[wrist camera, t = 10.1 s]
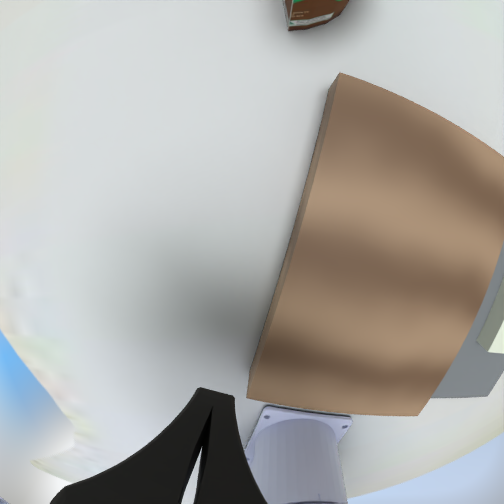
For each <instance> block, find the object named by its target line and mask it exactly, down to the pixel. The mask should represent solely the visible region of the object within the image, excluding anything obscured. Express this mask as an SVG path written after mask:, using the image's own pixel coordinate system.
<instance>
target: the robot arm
mask: <svg viewBox="0 0 504 504" xmlns="http://www.w3.org/2000/svg"><path fill="white" fill-rule="evenodd" d="M266 415H269V416H266ZM352 422H353V421H352V418H351V417H343V416H333V415H323V414H315V413H307V412H300V411H294V410H287V409H281V408H276V407H269V406H268V407H265V408H264V409H263V411H262V413H261V415H260V418H259V420H258V422H257V425H256V427H255V429H254V431H253V434H252V436H251V438H250V440H249V442H248V445H247V447H246V449H245V451H244V450H243V446H242V443H241V439H240V435H239V431H238V426H237V420H236V414H235V398H234V397H233V396H232V395H228V394H224V393H220V392H216V391H213V390H209V389H205V388H202V387H200V388H197V390H196V392H195V394H194V395H193V397H192V398H191V400H190V401H189V402H188V404H187V405H186V406H185V408H184V409H183V410H182V411H181V412H180V413H179V415H178V416H177V417H176V418H175V419H174V420H173V421H172V422H171V423H170V424H169V425H168V426H167V427H166V428H165V429H164V430H163V431H162V432H161V433H160V434H159V435H158V436H157V437H155V438H154V439H153V440H152V441H151V442H149V443H148V444H147V445H146V446H144V447H143V448H142V449H140V450H139V451H138V452H136V453H135V454H133V455H132V456H130V457H129V458H127V459H125V460H124V461H122V462H121V463H119V464H117V465H115V466H113V467H111V468H109V469H107V470H105V471H103V472H101V473H99V474H97V475H95V476H93V477H90V478H88V479H85V480H82V481H79V482H77V483H74V484H71V485H68V486H65V487H64V488H63V489H62V490H61V491H60V492H59V493H58V494H57V495H56V496H55V497H54V498H53V499H52V501H51V502H50V504H181V502H182V498H183V495H184V492H185V489H186V486H187V484H188V481H189V479H190V476H191V474H192V471H193V468H194V466H195V463H196V461H197V458H198V456H199V453H200V450H201V448H202V452H201V459H200V466H199V473H198V480H197V488H196V494H195V499H194V503H193V504H348V502H347V496H346V490H345V484H344V479H343V473H342V468H341V462H340V457H339V452H338V446H337V444H338V442H339V441H340V440H341V438H342V437H343V436H344V434H345V433H346V431H347V430H348V429H349V427H350V426H351V424H352ZM0 504H9V503H8V502H6V501H5V500H4V499H3V498H1V497H0Z"/></svg>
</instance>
